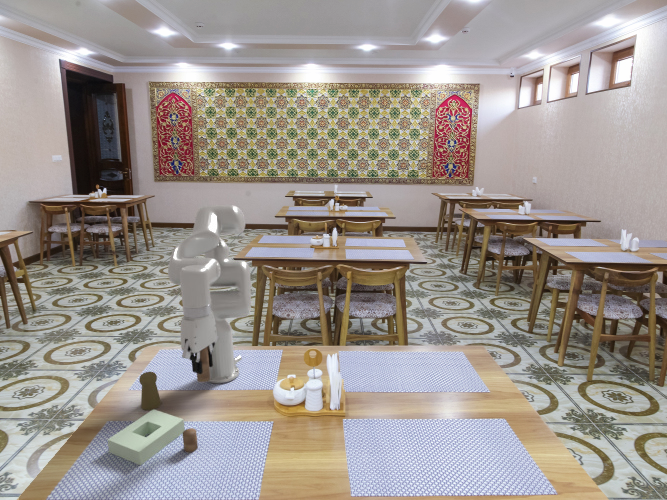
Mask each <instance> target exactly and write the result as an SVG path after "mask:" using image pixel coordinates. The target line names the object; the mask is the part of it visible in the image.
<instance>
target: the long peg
mask: <svg viewBox="0 0 667 500" xmlns="http://www.w3.org/2000/svg"><path fill="white" fill-rule="evenodd" d="M194 356H196V353H194ZM200 361H202V370H203V373H202V374H198V373H196V377H197V378H196V379H197V382H199V383H208V382H207V381H209V380H210V368H209V357H208V346H207V347H206V348H204V349H202V350H201V351H200Z"/></svg>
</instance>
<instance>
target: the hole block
mask: <svg viewBox="0 0 667 500" xmlns="http://www.w3.org/2000/svg"><path fill="white" fill-rule="evenodd" d="M185 430H186V429H185V419H184V418H181V417H178V416H175V415H172V414H170V413H167V412H163V411H160V410H157V409H152V410H149V412H147V413H145V414H144V415H143V416H141V417H140V418H138V419H136V420H135V421H134V422H132V423H130V424H129V425H127V426H126V427H125V428H123V429H120V430H119V431H118V432H117V433H115V434H114V435H112V436H110V437H109V438H108V439H107V444H108V445H107V446H108V451H109V452H108V453H110V454H112V455H115V456H117V457H119V458H121V459H124V460H127V461H129V462H132V463H134V464H137V465H139V466H142V465H143V464H144V463H146V462H147V461H149V460H150V459H151V458H152V457H154V456H155V455H156V454H157V453H159V452H160V451H162V450H163V449H164V448H165V447H166V446H168V445H169V444H171V442H173V441H175V439H177V438H178V437H180V436H181V435H183V432H184V431H185Z"/></svg>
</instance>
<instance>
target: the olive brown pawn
mask: <svg viewBox="0 0 667 500" xmlns="http://www.w3.org/2000/svg"><path fill="white" fill-rule="evenodd" d="M157 380H158V376H157V374H156V373H155V372H154V371H146V372H143V373H141V374H140V375H139V381H138V382H139V384H140V385H141V399H140V400H141V401H140V407H141V409H142V410H144V411H152V410H153V409H154V410H156V409H157V408H159V407H160V406H161V405H162V401H161V398H160V397H161V396H160V394H159V390H158V386H157Z"/></svg>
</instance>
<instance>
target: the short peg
mask: <svg viewBox="0 0 667 500" xmlns="http://www.w3.org/2000/svg"><path fill="white" fill-rule="evenodd" d="M182 441H183V443H182V444H183V450H184V452H186V453H187V454H188V453H189V454H191V453H194V452H195V451H197V450H198V435H197V429H195V428H193V427H192V428H191V427H190V428H186V429H185V431H184V432H183V433H182Z"/></svg>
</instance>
